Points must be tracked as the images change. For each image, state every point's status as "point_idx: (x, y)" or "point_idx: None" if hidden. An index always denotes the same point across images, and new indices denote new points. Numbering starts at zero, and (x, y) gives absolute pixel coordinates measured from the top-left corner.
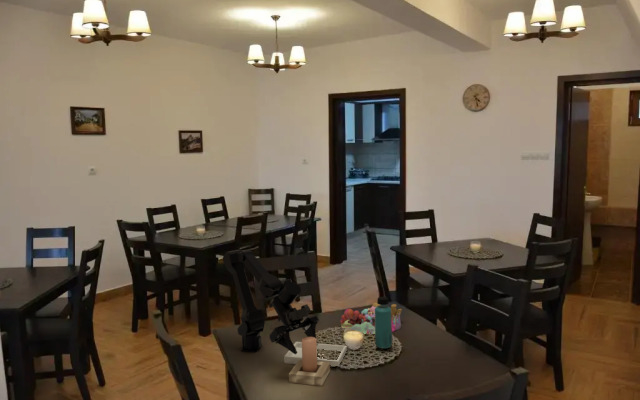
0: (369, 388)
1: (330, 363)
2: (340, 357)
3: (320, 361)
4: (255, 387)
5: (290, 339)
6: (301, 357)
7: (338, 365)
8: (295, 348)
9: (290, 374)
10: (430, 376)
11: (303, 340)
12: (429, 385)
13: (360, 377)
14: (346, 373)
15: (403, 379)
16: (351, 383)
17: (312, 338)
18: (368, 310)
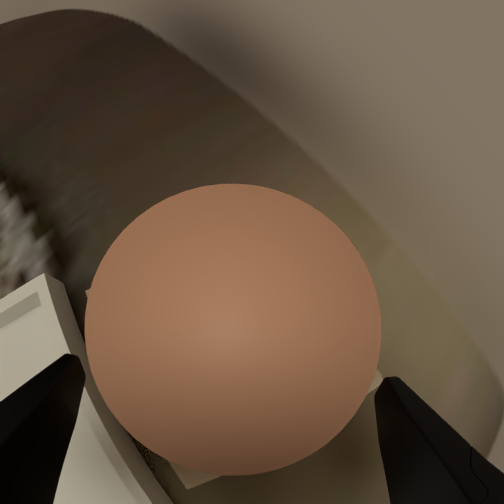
0: (161, 82)
1: (66, 320)
2: (5, 296)
3: (86, 381)
4: (472, 433)
5: (475, 499)
6: (141, 502)
7: (55, 279)
8: (408, 407)
9: (378, 372)
10: (28, 53)
11: (343, 378)
12: (73, 29)
13: (95, 149)
14: (88, 215)
15: (59, 68)
16: (161, 140)
17: (146, 309)
18: None
